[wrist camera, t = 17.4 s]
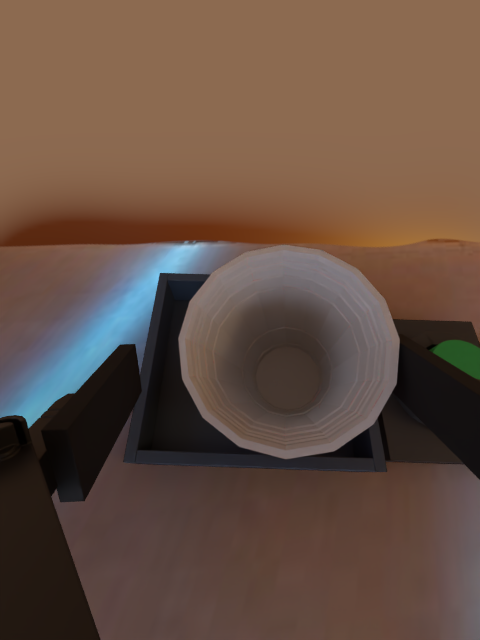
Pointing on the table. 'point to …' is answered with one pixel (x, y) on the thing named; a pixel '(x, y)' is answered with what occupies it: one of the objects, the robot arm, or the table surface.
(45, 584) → the robot arm
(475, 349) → the button
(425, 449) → the control block
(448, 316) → the table surface
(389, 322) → the plastic cup
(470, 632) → the table surface
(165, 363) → the shallow tray
